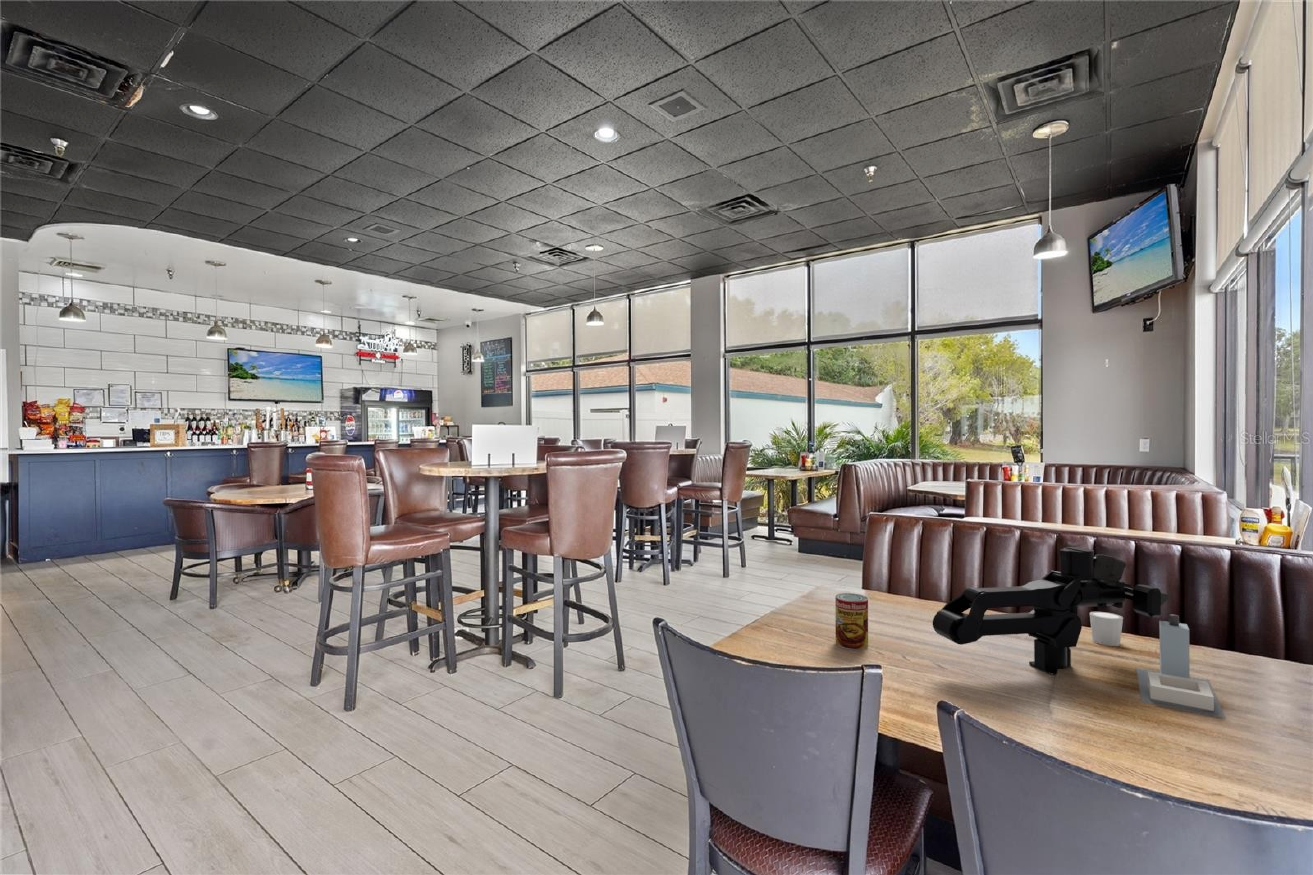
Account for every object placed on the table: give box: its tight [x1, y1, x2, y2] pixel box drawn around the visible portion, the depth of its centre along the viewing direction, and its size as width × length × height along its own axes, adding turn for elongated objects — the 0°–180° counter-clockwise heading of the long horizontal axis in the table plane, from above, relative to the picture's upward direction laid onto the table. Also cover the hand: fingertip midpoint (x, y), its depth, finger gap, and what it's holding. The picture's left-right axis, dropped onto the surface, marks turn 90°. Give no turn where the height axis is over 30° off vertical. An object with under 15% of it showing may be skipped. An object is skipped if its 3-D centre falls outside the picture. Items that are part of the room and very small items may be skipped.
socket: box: [1148, 671, 1214, 714], centre depth 117 cm, size 9×9×3 cm
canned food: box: [835, 592, 869, 651], centre depth 152 cm, size 8×8×12 cm
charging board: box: [1135, 667, 1227, 720], centre depth 121 cm, size 22×12×1 cm, turn 143°
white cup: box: [1089, 611, 1124, 647], centre depth 154 cm, size 7×7×7 cm
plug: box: [1159, 613, 1191, 679], centre depth 125 cm, size 4×4×14 cm
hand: (1149, 591), depth 140 cm, fingers open, 9 cm apart
